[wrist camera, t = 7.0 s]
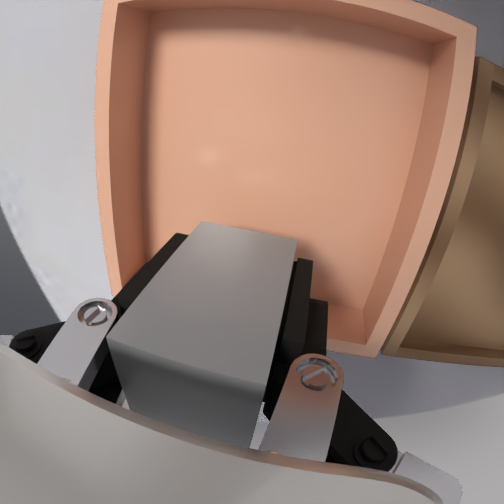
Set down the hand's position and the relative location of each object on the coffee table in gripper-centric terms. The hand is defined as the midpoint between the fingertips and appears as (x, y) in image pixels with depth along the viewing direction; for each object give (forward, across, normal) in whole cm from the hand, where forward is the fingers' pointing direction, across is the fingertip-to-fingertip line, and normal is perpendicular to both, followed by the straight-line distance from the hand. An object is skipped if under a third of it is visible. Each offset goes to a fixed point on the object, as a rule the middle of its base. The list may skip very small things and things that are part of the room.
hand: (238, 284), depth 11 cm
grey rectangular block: (+1, 0, 0) cm, 1 cm away
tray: (+4, -13, -3) cm, 14 cm away
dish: (+4, 0, -4) cm, 5 cm away
